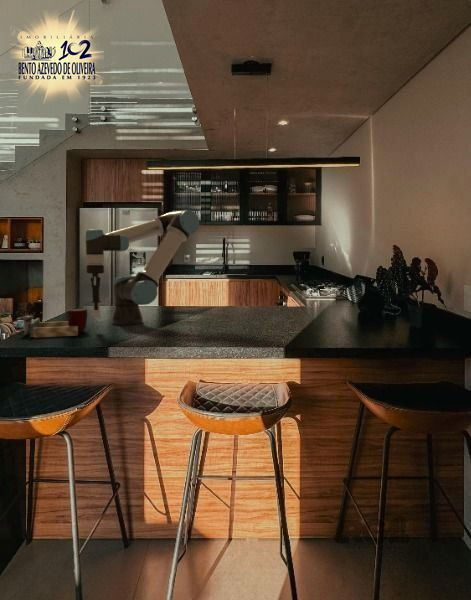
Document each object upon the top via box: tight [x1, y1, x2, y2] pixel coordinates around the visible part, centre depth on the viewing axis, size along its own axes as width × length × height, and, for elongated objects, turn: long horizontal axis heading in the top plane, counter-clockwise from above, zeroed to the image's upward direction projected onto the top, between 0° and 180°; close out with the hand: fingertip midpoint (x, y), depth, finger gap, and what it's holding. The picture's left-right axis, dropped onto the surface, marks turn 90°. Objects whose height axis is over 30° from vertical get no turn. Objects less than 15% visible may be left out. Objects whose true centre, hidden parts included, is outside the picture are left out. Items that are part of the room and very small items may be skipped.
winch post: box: [21, 315, 34, 336], centre depth 216 cm, size 4×4×8 cm
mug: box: [67, 308, 88, 334], centre depth 220 cm, size 10×8×10 cm
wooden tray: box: [29, 317, 79, 338], centre depth 219 cm, size 19×16×6 cm
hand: (96, 316), depth 222 cm, fingers closed
